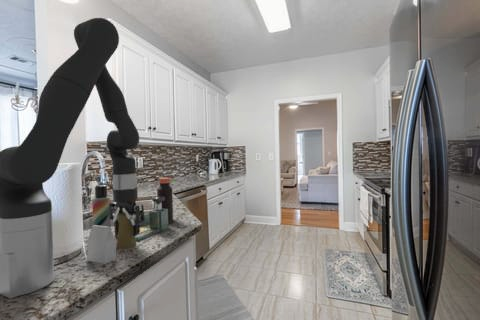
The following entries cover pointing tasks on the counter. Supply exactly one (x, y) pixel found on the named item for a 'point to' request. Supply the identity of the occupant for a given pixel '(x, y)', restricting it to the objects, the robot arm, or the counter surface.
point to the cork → (125, 232)
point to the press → (152, 223)
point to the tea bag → (101, 245)
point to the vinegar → (166, 196)
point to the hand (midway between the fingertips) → (127, 233)
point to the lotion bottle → (101, 207)
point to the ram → (158, 203)
